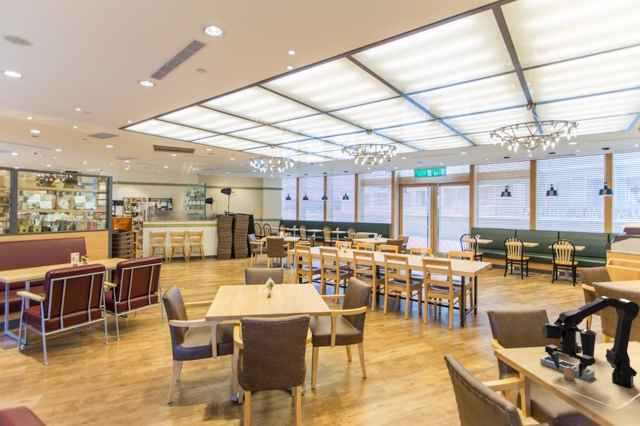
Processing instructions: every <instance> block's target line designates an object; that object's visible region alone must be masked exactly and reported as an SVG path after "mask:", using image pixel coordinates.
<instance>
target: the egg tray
mask: <svg viewBox="0 0 640 426" xmlns="http://www.w3.org/2000/svg"><path fill="white" fill-rule="evenodd" d="M539 359H540V361H539V363H540V365H542V366H545V367H547V368H551V369H553V370H557V371H559V372H562V373H564V371H563V370H564V367H566V366H569V367H571V368H573V370H574V372H575V377H576V378H579V379H581V380H584V381H590V380H591V379H593V378H595V376H596V375H595V370H593V369H590V368H587V373H583V374H582V376H581V377H580V376H579V371H578V370H576V363H575V364H574V363H571V362H569V361H565V360H562V359H560V358H559V369H557V367H556V365H555V363H554V361H553V359H552V358H551V356H550V355H546V356H542V357H540V358H539Z"/></svg>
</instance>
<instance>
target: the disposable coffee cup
mask: <svg viewBox="0 0 640 426" xmlns="http://www.w3.org/2000/svg"><path fill="white" fill-rule="evenodd" d="M550 340H551V345H554V346H558V347H559V349H560V350H561V344H560V341H561V338H560V339H550ZM559 356H564V357H567V356H566V355H562V354H560V355H559Z"/></svg>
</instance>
